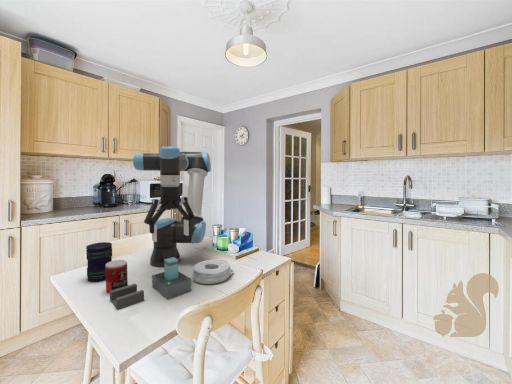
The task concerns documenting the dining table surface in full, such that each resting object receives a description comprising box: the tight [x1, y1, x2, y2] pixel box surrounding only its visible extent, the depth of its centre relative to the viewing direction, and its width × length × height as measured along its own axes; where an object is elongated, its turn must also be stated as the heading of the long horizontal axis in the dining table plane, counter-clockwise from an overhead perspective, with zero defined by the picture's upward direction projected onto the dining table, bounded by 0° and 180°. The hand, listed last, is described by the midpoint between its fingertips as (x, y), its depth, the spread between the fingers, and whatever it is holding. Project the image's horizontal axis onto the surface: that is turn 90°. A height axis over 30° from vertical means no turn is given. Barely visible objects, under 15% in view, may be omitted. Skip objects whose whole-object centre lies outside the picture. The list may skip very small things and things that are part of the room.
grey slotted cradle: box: [109, 283, 145, 311], centre depth 90 cm, size 9×9×4 cm
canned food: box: [105, 259, 129, 294], centre depth 99 cm, size 8×8×11 cm
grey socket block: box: [151, 270, 192, 300], centre depth 100 cm, size 14×10×6 cm
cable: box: [192, 258, 235, 285], centre depth 112 cm, size 18×18×6 cm
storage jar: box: [85, 241, 113, 283], centre depth 109 cm, size 10×10×15 cm
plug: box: [163, 257, 179, 281], centre depth 99 cm, size 4×4×12 cm
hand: (171, 238), depth 99 cm, fingers open, 13 cm apart
